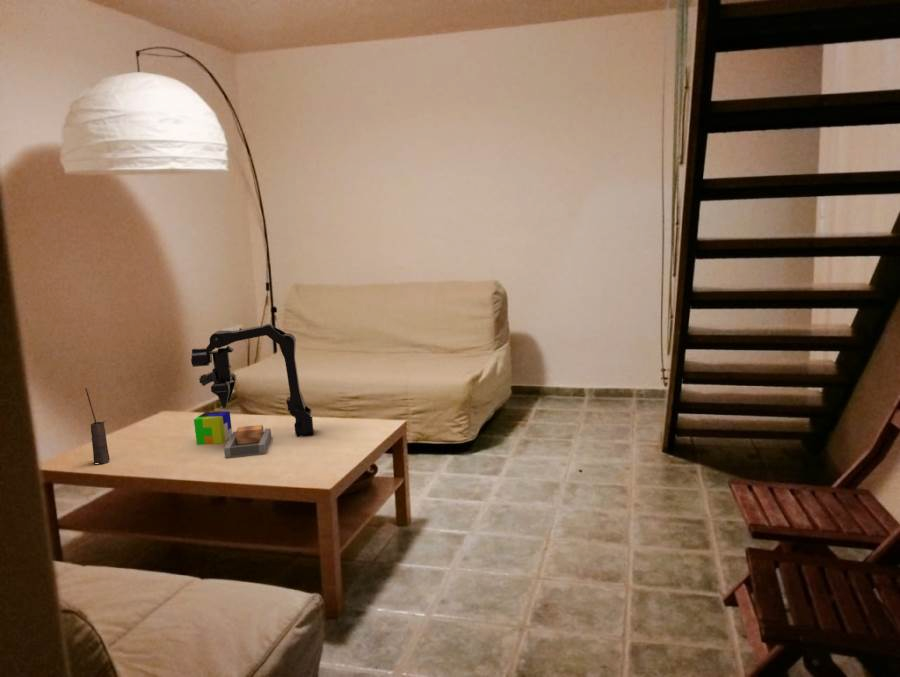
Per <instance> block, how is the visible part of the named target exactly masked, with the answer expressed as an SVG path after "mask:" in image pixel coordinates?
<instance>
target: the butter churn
mask: <svg viewBox="0 0 900 677" xmlns="http://www.w3.org/2000/svg"><path fill="white" fill-rule="evenodd" d="M84 388H85V393H86V396H87V399H88V403H89V406H90V410H91V414H92V417H93V422H92V423H90V435H91V443H92V456H93V464H94V463H105V462H107V463H109V462H110V461H111V459H110V453H109V448H108V440H107V435H106V429H105V422H106V420H103V421H97V419H96V416H95V412H94V409H93V405H92V402H91V399H90V395H89V392H88V388H87V387H84ZM109 460H110V461H109ZM108 461H109V462H108ZM105 464H106V463H105Z"/></svg>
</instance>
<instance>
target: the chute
mask: <svg viewBox="0 0 900 677" xmlns="http://www.w3.org/2000/svg"><path fill="white" fill-rule="evenodd" d="M271 439H272V430H271V428H265V429H264V433H263V435H262V438H261V440H260V442H257V443H247V444H237V439H236V431H232V435H231V437H230V438H229V439H228V440H227V442H226V443H225V446H224V447H223V451H224V459H229V458H230V459H231V458H240V457H249V456H258V455H259V456H260V455H266V453H267V450H268V448H269V446H270V443H271Z"/></svg>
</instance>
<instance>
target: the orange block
mask: <svg viewBox="0 0 900 677" xmlns="http://www.w3.org/2000/svg"><path fill="white" fill-rule="evenodd" d="M264 431H265V429H264V424H256V425H255V424H254V425H245V426H238V427H237V429H236V430H235V432H236V439H237V444H247V443H257V442H260V440H261V438H262V435H263V433H264Z"/></svg>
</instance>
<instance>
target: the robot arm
mask: <svg viewBox="0 0 900 677" xmlns="http://www.w3.org/2000/svg"><path fill="white" fill-rule="evenodd" d="M263 336H265V337H268V338H269V339H271V340H272V341H274V343H276V344H278V346H279V349H280V351H281V354H282V356H283V358H284V362H285V363H284V364H285V369H286V376H287V380H288V382H287V384H288V389H289V396H287V398H286V400H285V401H286V405H287V412H289V415H291V416H292V417H293V418H295V422H294V423H293V424H294V434H295V435H296V437H297V438H298V437H307V436H314V433H315V429H314V420H313V416H311V415H312V412H313V411H312V409H311V408H310V407H308V406H307V405H306V402H305V399H304V397H303V394H302V392H301V388H300V383H299V382H300V380H299V373H298V369H297V361H296V346H297V342H296V341H297V340H296V336H295V335H294V334H292V333H290V332H289V333H288V332H287V333H286V332H285V331H283V330H281V329H280V328H278V327H275V326H274V325H272V324H271V323H266V324H262V325H258V326H253V327H248V328H243V329H242V328H241V329H238V330H217V331H215V332H214V333H212V334H211V335H210V337H209V344H208V345H207V346H206V347H205V348H204V347H202V348H193V349H191V359H190V362H191V365H192V368H193V367H194V368H195V367H196V368H197V367H207V366H210V364H211V363H212V364H213V369H212V371H210V372H209V373H203V374H201V375H200V377H199V378H198V380H199V383H200V384H201V386H202V387H205V386H206V385H208V384H210V383H212V382H213V384H212V385H211V387H210V392H211V393H212V394H215V395H216V396H217V397H218V399H219V403H220V405H221V407H222V408H226V407H227V404H228V402H231V400H232V396H233V392H234V389H235V386H236V383H237V382H236V381H237V375H236V374H235V373H233V372H231V369H232V365H231V364H230V356H229V355H230V353H233V352H234V348H233V347H231V346H230V345H231V344H233V343H236V342H238V341H245V340H249V339H253V338H255V339H256V338H261V337H263ZM225 346H226V347H225ZM215 349H217V350H215Z"/></svg>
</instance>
